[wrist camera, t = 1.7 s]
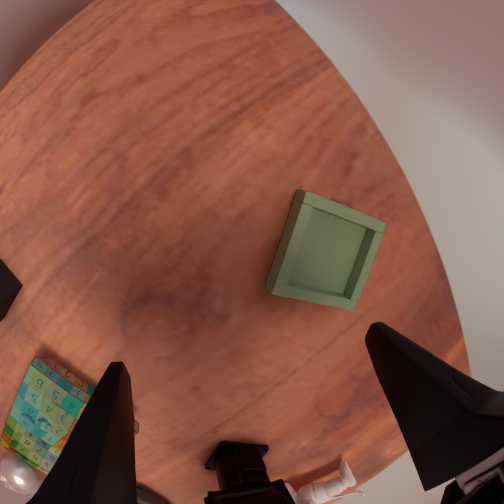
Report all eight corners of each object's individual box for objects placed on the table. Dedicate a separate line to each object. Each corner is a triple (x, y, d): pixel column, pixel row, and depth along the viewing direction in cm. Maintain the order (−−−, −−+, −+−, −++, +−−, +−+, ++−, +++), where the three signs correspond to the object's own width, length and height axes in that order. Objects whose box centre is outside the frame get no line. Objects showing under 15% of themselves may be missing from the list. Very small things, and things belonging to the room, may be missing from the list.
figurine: (2, 501, 16) (5, 498, 13) (-16, 462, 19) (-18, 446, 16) (48, 492, 25) (66, 485, 22) (30, 457, 28) (43, 439, 25)
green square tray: (344, 303, 27) (354, 311, 25) (264, 285, 25) (271, 294, 23) (374, 220, 26) (386, 223, 24) (296, 189, 23) (306, 190, 21)
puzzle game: (137, 439, 21) (72, 493, 21) (140, 407, 25) (76, 469, 26) (26, 369, 17) (-3, 447, 17) (45, 342, 21) (7, 425, 22)
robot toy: (354, 455, 30) (253, 494, 28) (377, 502, 24) (275, 543, 22) (339, 456, 41) (265, 485, 39) (356, 492, 35) (281, 522, 33)
